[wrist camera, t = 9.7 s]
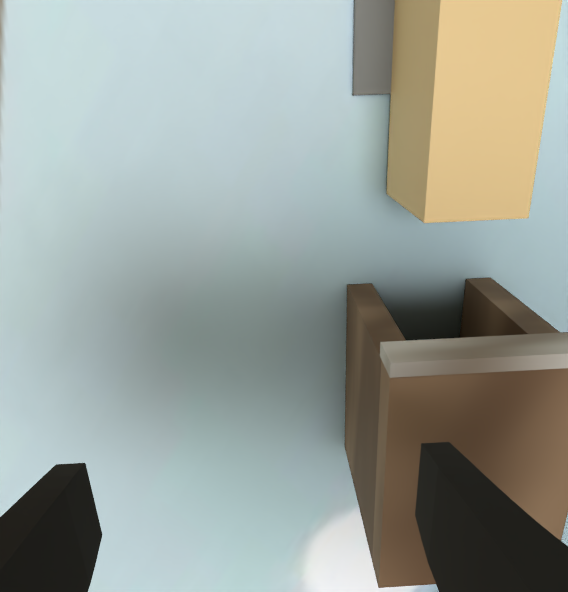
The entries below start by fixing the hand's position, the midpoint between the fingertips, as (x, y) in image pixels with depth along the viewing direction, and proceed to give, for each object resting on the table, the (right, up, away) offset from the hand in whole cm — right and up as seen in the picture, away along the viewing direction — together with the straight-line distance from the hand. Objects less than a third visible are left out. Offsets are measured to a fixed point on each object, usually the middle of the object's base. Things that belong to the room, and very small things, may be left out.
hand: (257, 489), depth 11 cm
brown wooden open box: (+6, +1, +11) cm, 12 cm away
